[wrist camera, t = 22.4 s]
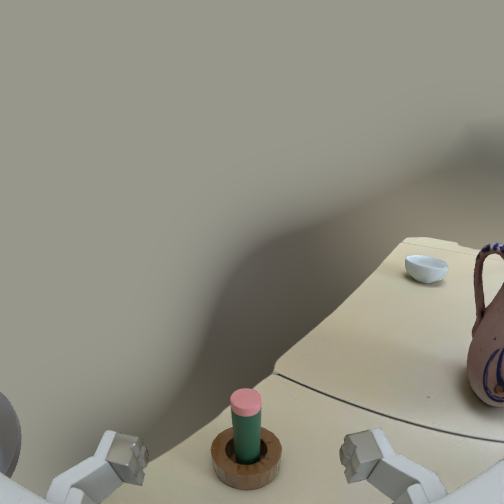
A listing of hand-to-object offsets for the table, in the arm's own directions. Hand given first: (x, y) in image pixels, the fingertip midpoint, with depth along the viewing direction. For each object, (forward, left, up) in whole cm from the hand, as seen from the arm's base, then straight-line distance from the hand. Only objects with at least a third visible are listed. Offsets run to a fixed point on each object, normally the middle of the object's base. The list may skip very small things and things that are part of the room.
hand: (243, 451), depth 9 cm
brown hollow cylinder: (+6, +11, -22) cm, 25 cm away
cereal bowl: (+90, +33, -22) cm, 98 cm away
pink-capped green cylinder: (+6, +11, -21) cm, 24 cm away
